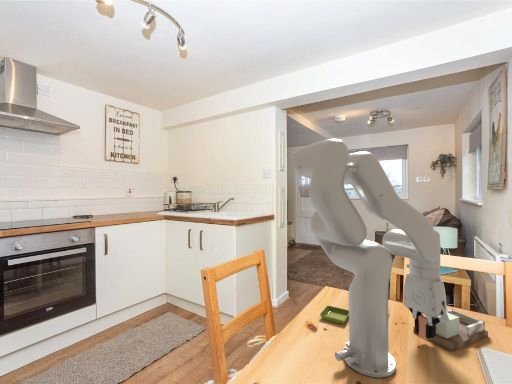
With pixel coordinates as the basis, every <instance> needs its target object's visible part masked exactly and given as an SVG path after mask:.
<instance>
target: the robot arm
mask: <svg viewBox="0 0 512 384" xmlns="http://www.w3.org/2000/svg"><path fill="white" fill-rule="evenodd" d="M293 166H294V170H295V171H296V172H297V173H298V174H299V175H300V176H302V177H304V178H306V179H311V180H310V186H309V198H310V202H311V204H312V207H313V208H314V209H315V211H314V212H313V214H312V216H311V219H310V229H311V232H312V235H313V236H314V238H315V239H316V241H317V242H318V244H319V246H320V247H321V249H322V250H323V251H324V253H325V254H326V256H327V257H328V259H330V261H331V262H332V263H333V264H334V265H335V266H337V267H339V268H341V269H343V270H345V271H348V272H351V273H353V274H354V278H353V280H352V281H351V283H350V284H349V289H348V310H349V315H348V341H347V342H345V347H344V348H343V350H339V351H336V352H334V357H335V359H336V361H338V362H340V361H344V362H345V363H346V364H347V365H348V367H350V368H351V369H352V370H354V371H356V372H357V373H359V374H362V375H363V376H368V377H371V378H387V377H389V376H392V375H393V374H394V373H395V372H396V367H397V364H396V360H395V358H394V357H393V356H392V355H391V353H390V351H389V349H390V346H389V345H390V343H389V337H390V335H389V333H390V332H389V286H390V284H389V283H390V278H391V273H392V269H393V257H392V255H393V256H398V257H401V258H406V259H409V263H408V262H407V263H406V268H408V269H409V270H408V271H409V272H407V273H406V275H405V281H404V286H403V305H404V306H405V307H406V308H407V309H408V310H409V311H410V312H411V314H412V315H411V316H412V318H413V319H414V327H415V332H416V333H415V332H414V333H415V334H417V333H419V316H420V315H425V316H426V315H427V320H428V324H426V338H427V339H430V338H433V337H435V335H436V324H438V323H446V322H449V321H450V320H449V317H448V315H447V313H446V311H447V310H448V309H447V307H448V306H447V295H446V288H445V284H444V281H443V279H442V278H441V251H442V247H441V234H440V232H439V231H437V230H435V228H434V227H433V225H432V223H431V222H430V221H429V219H428V218H427V217H426V216H425V215H424V214H422V212H420V211H419V210H418V209H416V208H415V207H414V206H412V205H411V204H410V203H409V202H407V201H405V200H404V199H403V198H401V196H399V195H398V194H397V192H396V190H395V188H394V187H393V185H392V183H391V181H390V179H389V177H388V176H387V174H386V171H385V170H384V168H383V166H382V165H381V163H380V161H379V159H378V158H377V156H376V155H375V154H373V153H372V152H369V151H357V152H353V153H352V152H351V153H350V151H349V149H348V146H347V144H346V143H345V142H344V141H343V140H342V139H337V138H328V139H323V140H320V141H316V142H314V143H311V144H307V145H305V146H303V147H301V148H299V149H298V150H297V151H296V152H295V154H294V156H293ZM346 185H351V186H352V187H353V189H354V191H355V192H356V194H357V196H358V198H359V200H360V201H361V202H362V204H363V206H364V208H365V209H366V211H367V212H368V213H370V214H371V215H372V216H374V217H376V218H377V219H380V220H382V221H383V222H385V223H388V224H390V225H392V226H394V227H395V229H394V228H393V229H391V230H388V231H386V232H385V233H384V235H383V236H382V239H381V243H382V244H381V243H379V242H376V241H374V240H369V239H367V236H368V228H367V225H366V222H365V221H364V219H363V217H362V216H361V214H360V212H359V211H358V210H357V208H356V206H355V205H354V203H353V201H352V200H351V198H350V196H349V195H348V192H347V191H346V188H345V186H346ZM438 316H441V317H438Z"/></svg>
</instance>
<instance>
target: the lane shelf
mask: <svg viewBox="0 0 512 384" xmlns="http://www.w3.org/2000/svg"><path fill="white" fill-rule="evenodd" d="M446 312H447V313H450V314H453V315H455V316H458V317H459V334H458V335H455V336H453V337H450V338H447V339H446V338H444V337H442V336H440V335H438V334H436V335H435V337H433V338H431V339H430V340H429V341H430V342H432V343H435V344H437V345H439V346H441V347H442V348H444V349H446V350H447V351H450V352H454V351H456V350H458V349H461V348H463V347H465V346H468V345H471V344H474V343H475V342H478V341H479V340H482V339H485V338H487V337H489V331H488V330H487V329H486V323H485V321H483V320H481V319H478V318H475V317H474V316H472V315H471V316H470V315H468V314H465V313H463V312H460V311H457V310H455V309H453V308H451V309H447V311H446ZM413 333H415V334H417V335H419V333H416V332H415V326H413Z"/></svg>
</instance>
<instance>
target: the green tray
mask: <svg viewBox="0 0 512 384" xmlns="http://www.w3.org/2000/svg"><path fill="white" fill-rule="evenodd" d="M329 311H331V312H329ZM328 312H329V314H328ZM319 316H320V317H321V318H322V319H323V320H325V319H326V321H330V322H334V323H337V324H341V325H343V324H344V323H345V322H346V320H347V318H349V309H345V308H341V307H337V306H331V305H326V306H325V307H324V308H323V310H322V311H321V312H320V313H319Z"/></svg>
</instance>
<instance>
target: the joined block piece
mask: <svg viewBox="0 0 512 384" xmlns="http://www.w3.org/2000/svg"><path fill="white" fill-rule="evenodd" d="M446 313H447V312H446ZM447 315H448V317H449V320H450V321H449V322H446V323H438V324H436V334H438V335H440V336H442V337H444V338H446V339H447V338H450V337H453V336H455V335H458V334H459V317H458V316H455V315H453V314H450V313H447ZM438 317H441V316H438ZM426 324H428V320H427V315H426V314H422V315H420V316H419V334H418V337H420V338H422V339H423V340H425V341H431V340H430V339H431V338H430V339H427V338H426Z"/></svg>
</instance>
